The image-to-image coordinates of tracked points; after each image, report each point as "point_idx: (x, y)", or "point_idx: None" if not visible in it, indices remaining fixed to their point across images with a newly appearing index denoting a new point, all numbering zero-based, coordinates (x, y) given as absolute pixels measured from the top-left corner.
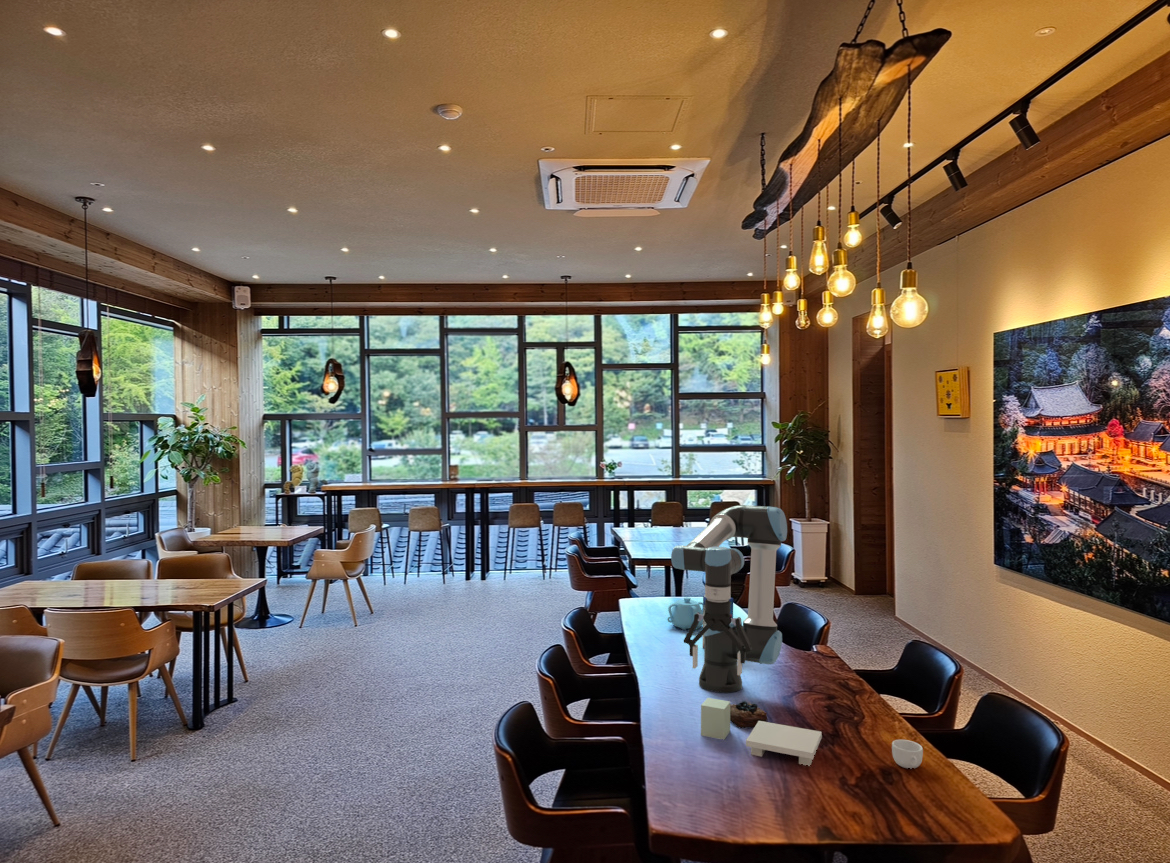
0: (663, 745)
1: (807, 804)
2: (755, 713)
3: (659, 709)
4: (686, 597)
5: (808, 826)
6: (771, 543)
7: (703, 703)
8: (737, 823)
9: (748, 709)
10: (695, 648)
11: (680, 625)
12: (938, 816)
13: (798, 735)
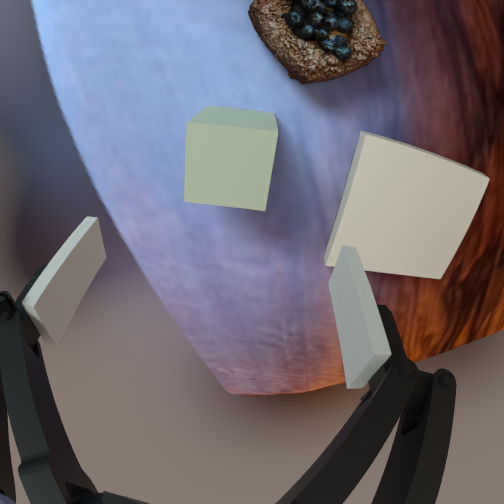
0: (148, 243)
1: None
2: (353, 60)
3: (67, 56)
4: None
5: None
6: None
7: (187, 184)
8: (301, 379)
9: (329, 34)
10: (58, 334)
11: None
12: (496, 313)
13: (443, 209)
